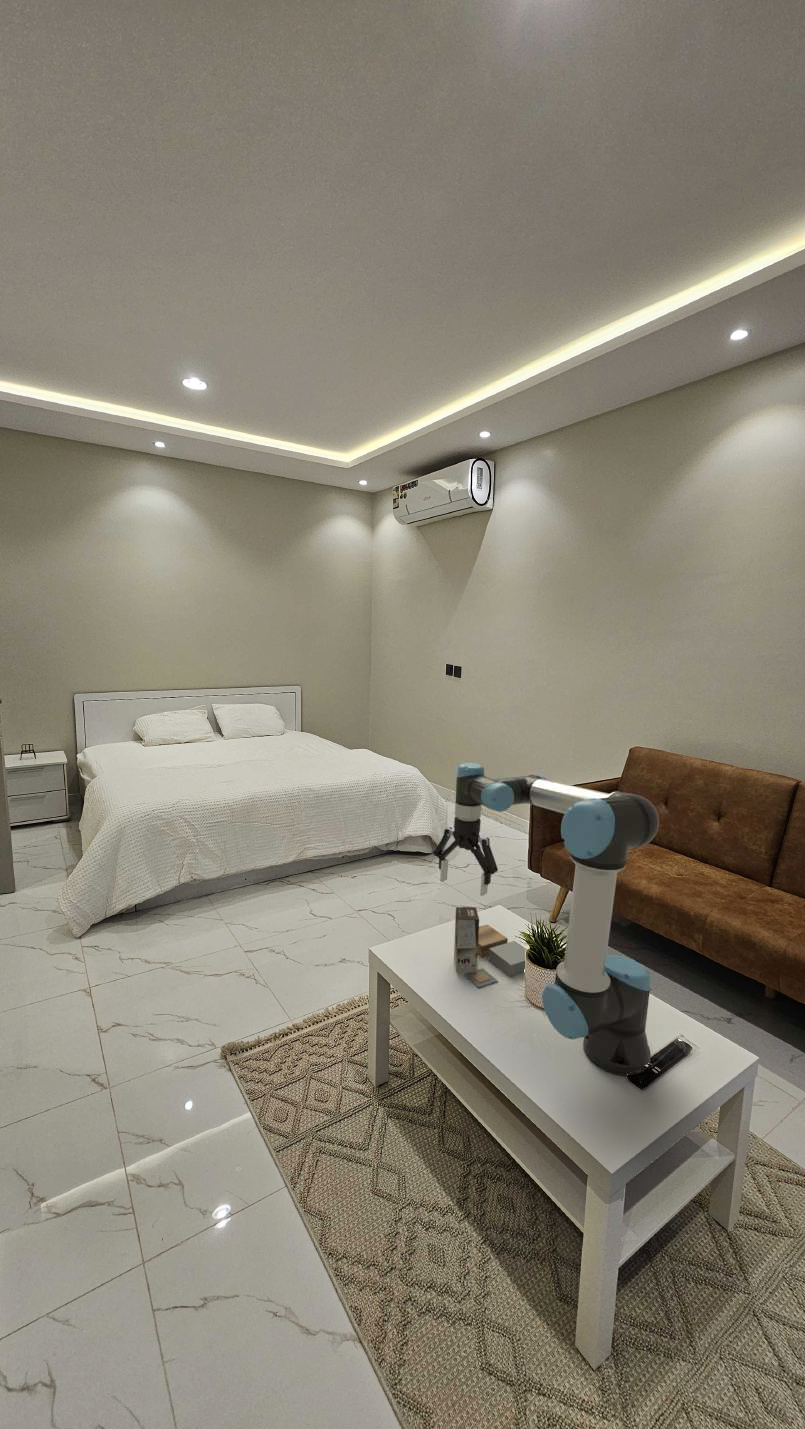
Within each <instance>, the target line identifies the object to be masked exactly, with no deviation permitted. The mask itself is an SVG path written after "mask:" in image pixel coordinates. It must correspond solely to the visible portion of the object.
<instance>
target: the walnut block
mask: <svg viewBox="0 0 805 1429" xmlns="http://www.w3.org/2000/svg"><path fill="white" fill-rule="evenodd" d="M506 943H509V941H508V937H506V936H504V935H503V934H502V933H500V932H499V931H498V930H496V929H495V928H493V927H492V926H490V925H489V924H484V925H481V926H480V925H479V937H478V957H479V958H481V959H483V958H484V959H485V958H486V957H487V958H489V948H492V947H496V946H499V945H502V944H506Z"/></svg>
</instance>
